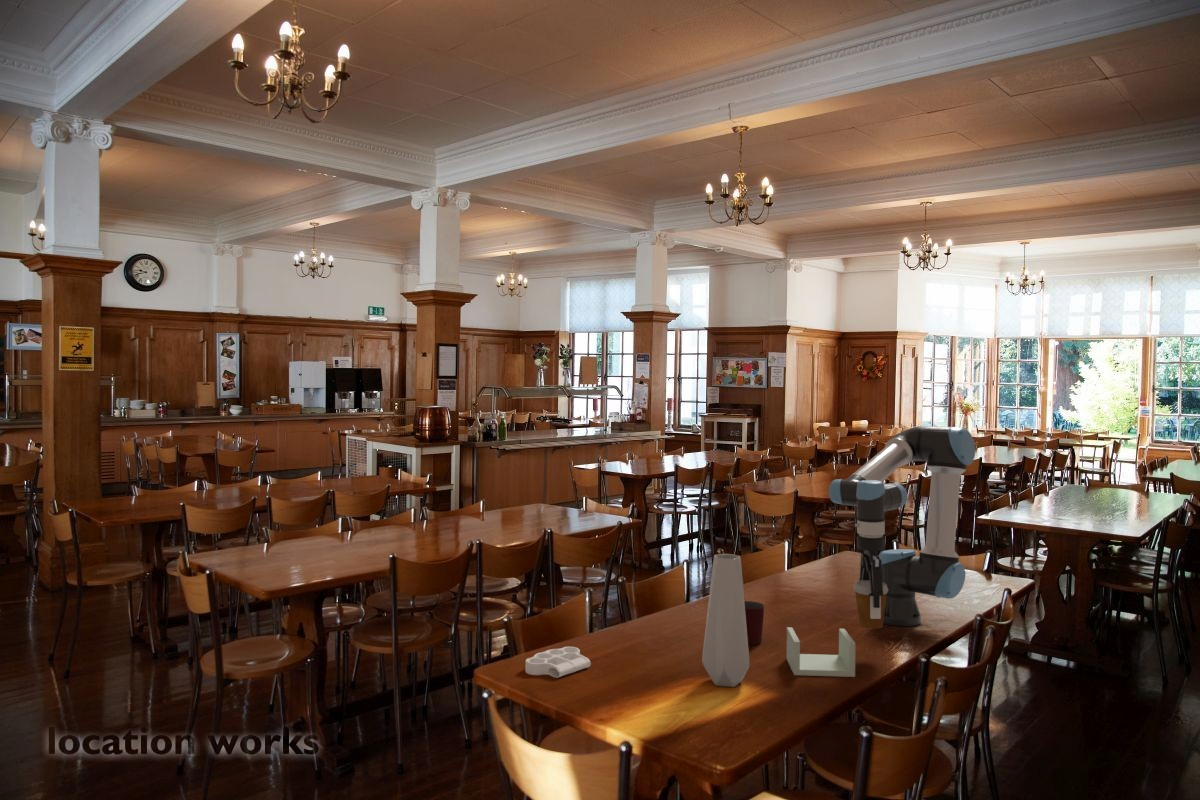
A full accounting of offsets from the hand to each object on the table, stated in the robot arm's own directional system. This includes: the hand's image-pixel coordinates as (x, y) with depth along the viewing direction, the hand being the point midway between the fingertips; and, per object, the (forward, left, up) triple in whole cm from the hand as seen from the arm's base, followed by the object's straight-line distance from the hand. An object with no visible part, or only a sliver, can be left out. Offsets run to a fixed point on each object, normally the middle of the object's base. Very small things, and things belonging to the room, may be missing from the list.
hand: (871, 613), depth 234 cm
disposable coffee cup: (0, 0, -4) cm, 4 cm away
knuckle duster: (+88, +16, -13) cm, 91 cm away
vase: (+42, +24, -13) cm, 51 cm away
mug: (+34, -10, -13) cm, 38 cm away
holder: (+16, +11, -12) cm, 23 cm away
